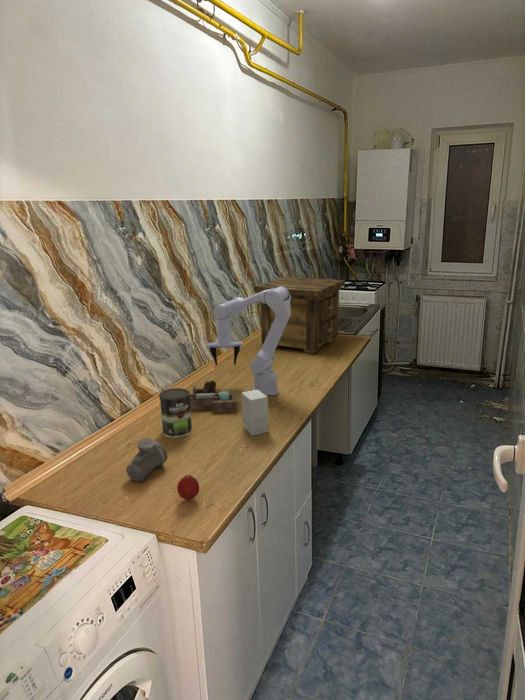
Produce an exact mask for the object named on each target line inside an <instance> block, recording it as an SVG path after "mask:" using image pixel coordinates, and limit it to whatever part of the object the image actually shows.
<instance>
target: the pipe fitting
mask: <svg viewBox="0 0 525 700" xmlns="http://www.w3.org/2000/svg"><path fill="white" fill-rule="evenodd" d="M137 449H138V452H137V453H136V454H135V455H134V456H133V458H132V461H131V462H130V463H129V464H128V465H127V466H126V469H125V470H126V474H127V477H129V479H130V480H132V481H133V482H136V481H137V482H136V483H140V482H142V481H144V480H145V479H146V478H147V476H148V475H149V474H150V473H151V472H152V471H153V470H154V469H155V468H159V467H162V466H163V465H164V464H165V463H166V462H167V460H168V452H167V450H166V449H165V447H164V446H163V445H162V444H161V443H160V442H157V441H155V439H153V438H150V437H149V438H148V437H147V438H146V437H145V438H142V439H140V440H138V442H137Z"/></svg>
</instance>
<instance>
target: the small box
mask: <svg viewBox="0 0 525 700" xmlns="http://www.w3.org/2000/svg"><path fill="white" fill-rule="evenodd" d="M241 406H242V407H241V410H242V411H241V413H242V427H243V428H244V429H245V431H247V432H248V433H249V434H250V435H251V436H252V437H253V436H258V435H262V434H266V433H269V431H270V430H269V428H270V427H269V397H268V395H264V394H263V393H262V392H260V391H259V390H253V389H252V390H249V391H248V390H247V391H242V392H241Z"/></svg>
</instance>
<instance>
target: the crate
mask: <svg viewBox="0 0 525 700" xmlns="http://www.w3.org/2000/svg"><path fill="white" fill-rule="evenodd" d="M344 285H346V280H344V279H332V278H317V277H304V276H303V277H301V276H287V275H286V276H284V277H280V278H276V279H274V280H270V281H268V282H265V283H261V284H258V285H255V286H253V292H257V293H259V292H262V291H264V290H268V289H272V288H275V289H276V288H277V287H280V286H282V287H285V288H286V289H287V290H288V292H289V294H290V296H291V299H290V309H291V315H290V318H289V320H288V322H287V324H286V327H285V329H284V331H283V333H282V336H281V338H280V340H279V342H278V344H277V347H276V349H277V348H279V347H281V346H282V347H289V348H293V349H294V348H295V349H296V348H297V349H303V353H306V354H314V353H316V352H317V350H318V349H319V348H320V347H322V345H324V344H325V343H327V344H328V343H331V342H332V341H333V339H335V338H337V337H339V306H340V305H339V304H340V303H339V299H340V296H339V295H340V294H339V293H340V291H341V290H342V289H343V286H344ZM257 293H256V294H257ZM275 317H276V315H275V313H274V312H273V310H272V309H271V308H270V307H269V306H268V305H267V303H265V304H264V303H262V302H260V323H261V324H260V326H261V328H260V329H261V330H260V331H261V333H260V335H261V344H264V342H265V339H266V337H267V335H268V333H269V330H270V328H271V326H272V323H273V321H274V319H275Z"/></svg>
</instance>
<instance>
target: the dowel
mask: <svg viewBox="0 0 525 700" xmlns="http://www.w3.org/2000/svg"><path fill="white" fill-rule="evenodd" d="M218 393H219V397H220V401H221V400H229V393H230V392H229V391H226V390H222V391H220V392H218Z"/></svg>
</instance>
